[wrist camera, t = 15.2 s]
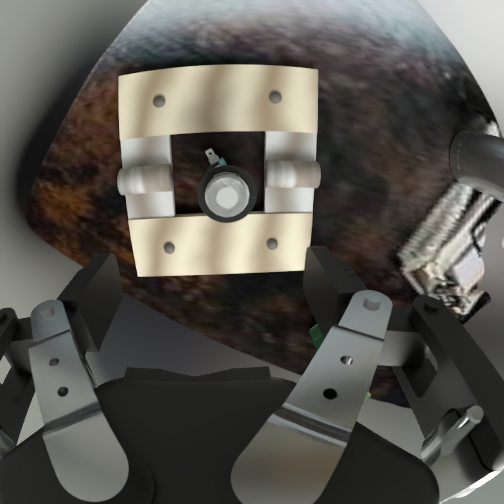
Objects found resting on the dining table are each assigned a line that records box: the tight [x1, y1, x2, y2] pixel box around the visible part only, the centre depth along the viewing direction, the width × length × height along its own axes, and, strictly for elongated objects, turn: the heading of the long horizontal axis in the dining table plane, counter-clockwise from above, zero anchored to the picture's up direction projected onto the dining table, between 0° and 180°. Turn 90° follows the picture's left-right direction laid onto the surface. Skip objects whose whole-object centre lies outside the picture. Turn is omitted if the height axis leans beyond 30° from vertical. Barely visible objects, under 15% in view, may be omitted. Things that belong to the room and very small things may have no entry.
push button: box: [197, 148, 257, 223], centre depth 28 cm, size 7×5×10 cm
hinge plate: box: [118, 65, 321, 276], centre depth 31 cm, size 23×26×3 cm
